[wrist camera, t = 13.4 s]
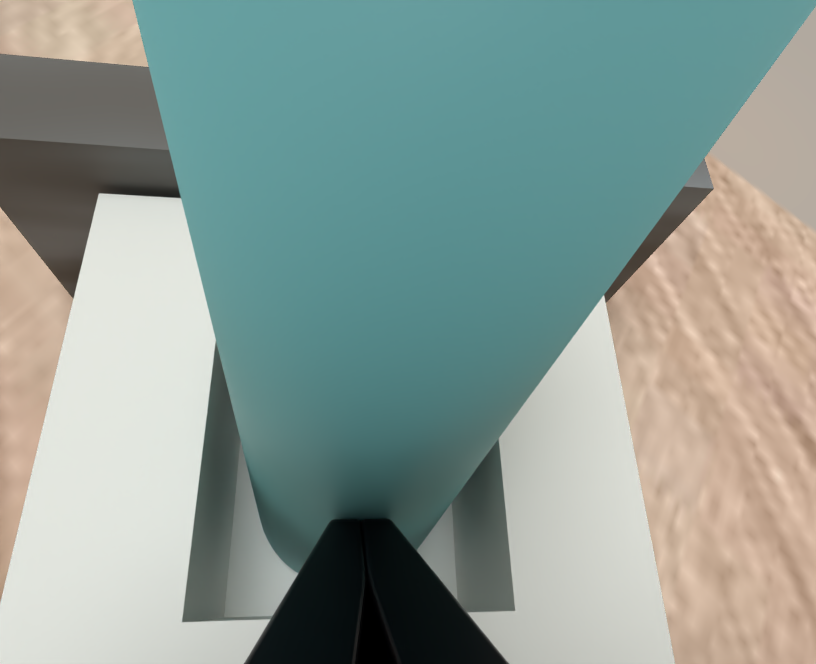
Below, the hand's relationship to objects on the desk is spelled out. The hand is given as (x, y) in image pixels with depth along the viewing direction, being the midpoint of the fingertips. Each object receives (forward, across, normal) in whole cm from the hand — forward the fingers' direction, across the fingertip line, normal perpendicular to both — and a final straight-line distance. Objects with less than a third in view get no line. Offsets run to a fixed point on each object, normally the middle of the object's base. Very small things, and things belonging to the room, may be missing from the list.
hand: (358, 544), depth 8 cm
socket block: (+5, 0, +3) cm, 6 cm away
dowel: (+5, 0, +3) cm, 5 cm away
